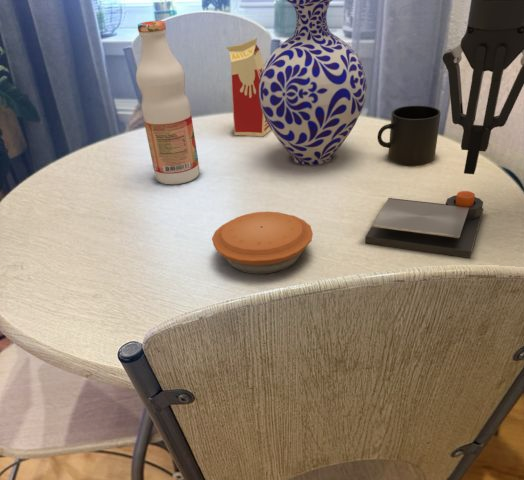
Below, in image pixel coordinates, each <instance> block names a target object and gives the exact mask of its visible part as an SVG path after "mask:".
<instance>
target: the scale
mask: <svg viewBox="0 0 524 480" xmlns="http://www.w3.org/2000/svg"><path fill="white" fill-rule="evenodd" d="M456 196H457V194H456V195H452V196H450V197H447V198H446V202H445V203H439V202H429V201H421V200H411V199H402V198H395V197H394V198H393V197H388V198H387V200H388V199H395V200H404V201H413V202H422V203H431V204H440V205H449V206H458V205H456V204H455V202H456ZM387 200H386V201H385V203H386V202H387ZM383 207H384V205H383ZM383 207H382V208H383ZM458 207H462V206H458ZM467 208H469V210H468V213H467V216H466V219H465V222H464V225H463V228H462V231H461V234H460V237H459V238H454V237H446V236H439V235H431V234H423V233H416V232H408V231H401V230H393V229H386V228H378V227H372V226H370V228H369V230H368V232H367V233H366V234H365V238H364V243H365V244H368V245H369V244H370V245H377V246H384V247H389V248H390V247H391V248H398V249H404V250H411V251H419V252H425V253H433V254H438V255H439V254H440V255H445V256H446V255H447V256H453V257H461V258H468V259H470V258H471V255H472V251H473V250H474V249H473V248H474V245H475V241H476V238H477V234H478V231H479V227H480V224H481V222H482V221H481V220H482V217H483V213H484V202H483V200H482V199H481V198H479V197H477V196H475V198H474V204H473V206H470V207H467ZM380 212H381V210H380V211H379V213H380ZM377 217H378V215H377V216H376V218H377ZM374 222H375V220H374V221H373V223H374Z"/></svg>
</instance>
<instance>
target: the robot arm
mask: <svg viewBox="0 0 524 480" xmlns="http://www.w3.org/2000/svg"><path fill="white" fill-rule="evenodd" d="M467 18H468V19H467V24H466V30H465V33H464V35H463V36H462V38H461V40H460V43H459V44H458V45H456V46H455V47H453V48H451V49H447V50H446V51H445V53H444V54H443V55H442V61H443V64H444V66H445V68H446V70H447V73H448V85H449V87H448V88H449V98H450V110H451V120H452V124H454V125H459V126H461V127H462V129H463V132H462V136H461V144H460V148H461V151H467V153H466V158H465V164H464V170H463V174H465V175H475V172H476V169H477V165H478V161H479V154H480V152H486V151H487V150H488V148H489V144H490V139H491V135H492V130H493V129H495V128H502V127H504V126H505V125H506V123H507V121H508V119H509V117H510V114H511V113H512V110H513V108H514V106H515V104H516V102H517V100H518V97H519V96H520V94H521V91H522V89H523V87H524V0H470V5H469V12H468V17H467ZM462 54H464V56H465V58H466V61H467V62H468V65H469V66H470V68H471V69H472V76H471V84H470V89H469V95H468V101H467V105H466V106H467V107H466V111H465V112H466V113H464V107H463V106H464V105H463V93H462V92H463V91H462V79H461V67H460V63H461V61H462V59H463V55H462ZM521 54H522V56H521V59H520V65H521V67H520V69H519V70H518V73H517V74H516V77H515V80H514V82H513V84H512V86H511V89H510V91H509V93H508V95H507V97H506V99H505V102H504V104H503V106H502V108H501V111H500V112H499V115H496V111H497V110H496V109H497V105H498V98H499V94H500V90H501V86H502V85H501V84H502V79H503V75H504V71H505V70H506V69H508V68H509V66H510V65H511V64H513V62H514V61H515V60H516V59H517V58H518V57H519V56H520V55H521ZM485 72H490V73H491V79H490V86H489V91H488V96H487V101H486V107H485V112H484V117H483V122H482V125H481V124H475V122H476V117H477V111H478V106H479V101H480V100H479V99H480V94H481V90H482V89H481V88H482V84H483V79H484V74H485Z"/></svg>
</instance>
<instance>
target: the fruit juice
mask: <svg viewBox="0 0 524 480" xmlns="http://www.w3.org/2000/svg"><path fill="white" fill-rule="evenodd" d="M166 29H167V27H166V22H165V21H163V20H150V21H143V22H140V23H138V24H137V31H138V35H139V36H140V38H141V53H140V60H139V63H138V65H137V68H136V72H135V80H136V84H137V87H138V90H139V92H140V93H141V94H140V95H141V98H142V99H141V114H142V120H143V124H144V128H145V133H146V138H147V139H146V140H147V143H148V147H149V153H150V158H151V162H152V167H153V172H154V176H155V179H156V180H157V181H158V182H159V183H161V184H165V185H180V184H181V185H182V184H186V183H188V182H191V181H194V180H195V179H197V178H198V177H199V175H200V163H199V156H198V150H197V145H196V143H197V142H196V137H195V130H194V124H193V117H192V116H193V115H192V110H191V109H192V108H191V105H190V101H189V98H188V96H187V94H186V91H185V85H186V75H185V71H184V68H183V67H182V65H181V63H180V61H178V59H176V57H175V56H174V53H173V52H172V50H171V48H170V45H169V42H168V40H167V38H166V32H167V30H166Z"/></svg>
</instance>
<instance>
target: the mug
mask: <svg viewBox="0 0 524 480" xmlns="http://www.w3.org/2000/svg"><path fill="white" fill-rule="evenodd" d="M440 121H441V110H439V109H438V108H437V107H433V106H429V105H420V104H419V105H418V104H415V105H403V106H400V107H397V108H395V109H393V110H392V111H391V118H390V123H388V124H385V125H383V126H382V127H381V128H380V129H379V130H378V132H377V142H378V144H379V145H380V146H381V147H383V148H386V149H388V153H387V154H388V155H387V156H388V159H389V161H391V162H393V163H394V164H397V165H404V166H420V165H425V164H428V163H431V162H432V161H434V159H435V158H436V150H437V144H438V136H439V129H440ZM386 130H389V141H388V142H386V141H384V140H383V138H382V135H383V133H384V132H385V131H386Z"/></svg>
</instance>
